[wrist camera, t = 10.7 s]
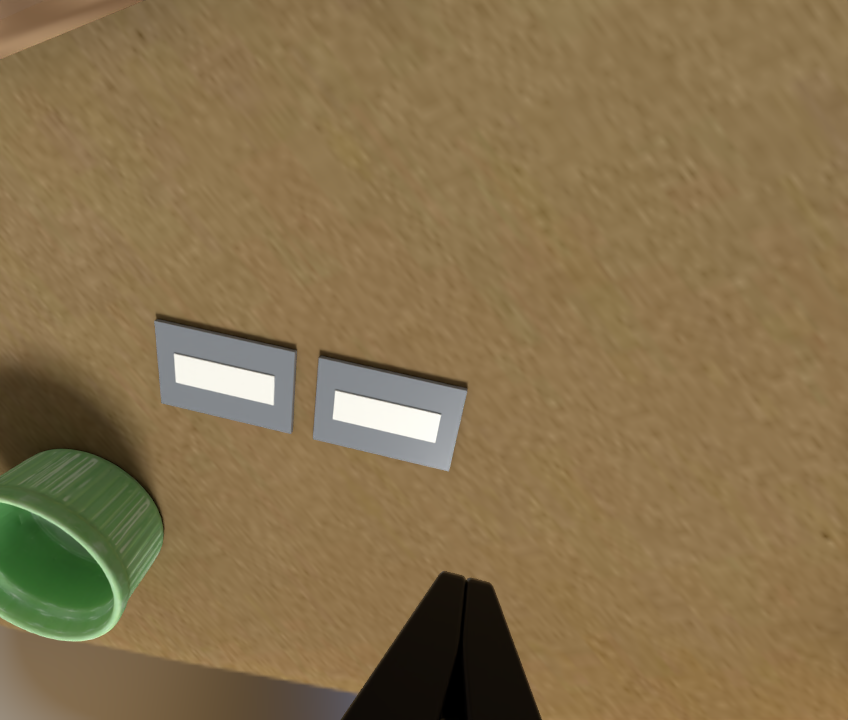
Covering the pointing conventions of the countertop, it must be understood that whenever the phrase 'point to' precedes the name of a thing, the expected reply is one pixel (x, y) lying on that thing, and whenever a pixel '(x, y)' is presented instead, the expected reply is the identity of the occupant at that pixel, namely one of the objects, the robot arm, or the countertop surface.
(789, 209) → the countertop surface
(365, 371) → the label tile
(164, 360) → the label tile
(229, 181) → the countertop surface
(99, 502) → the ramekin
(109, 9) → the bar
